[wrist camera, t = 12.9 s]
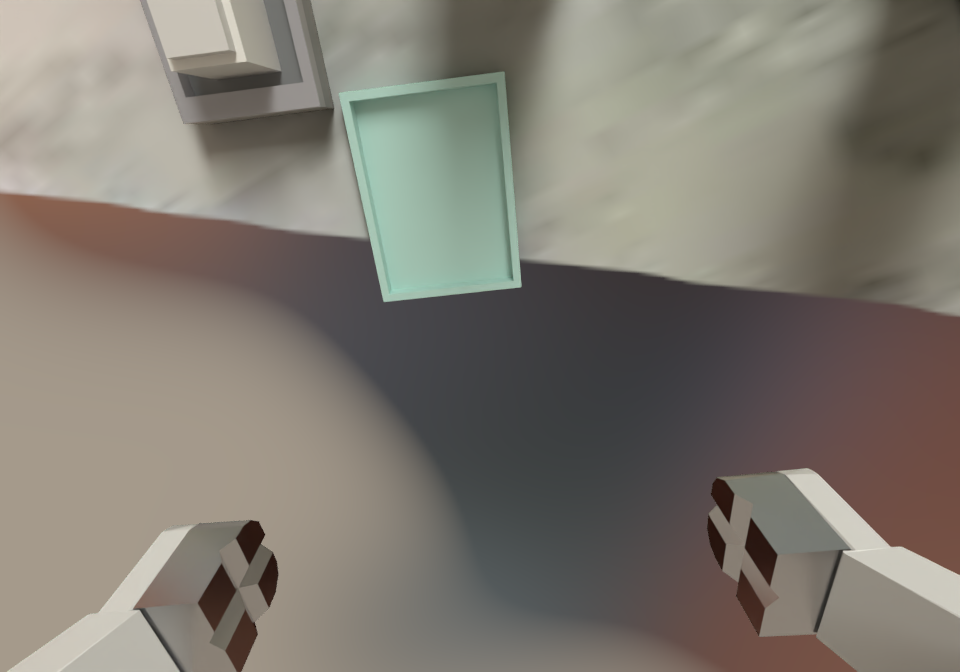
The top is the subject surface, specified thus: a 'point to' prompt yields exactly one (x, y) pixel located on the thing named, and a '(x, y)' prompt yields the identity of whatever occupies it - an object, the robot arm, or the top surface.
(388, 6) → the top surface
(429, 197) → the tray
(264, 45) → the plug
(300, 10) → the grey compartment holder
